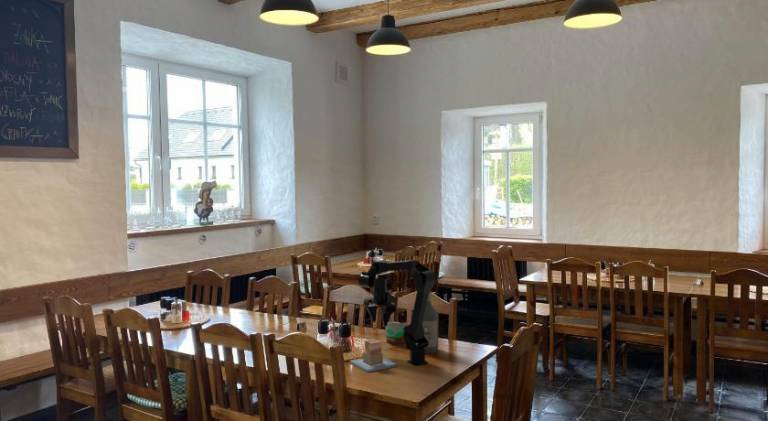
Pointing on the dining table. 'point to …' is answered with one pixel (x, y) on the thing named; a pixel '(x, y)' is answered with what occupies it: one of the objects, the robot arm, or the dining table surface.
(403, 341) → the food container
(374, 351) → the terracotta block
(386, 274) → the robot arm
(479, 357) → the dining table surface
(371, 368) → the blueprint board
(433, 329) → the liquor
